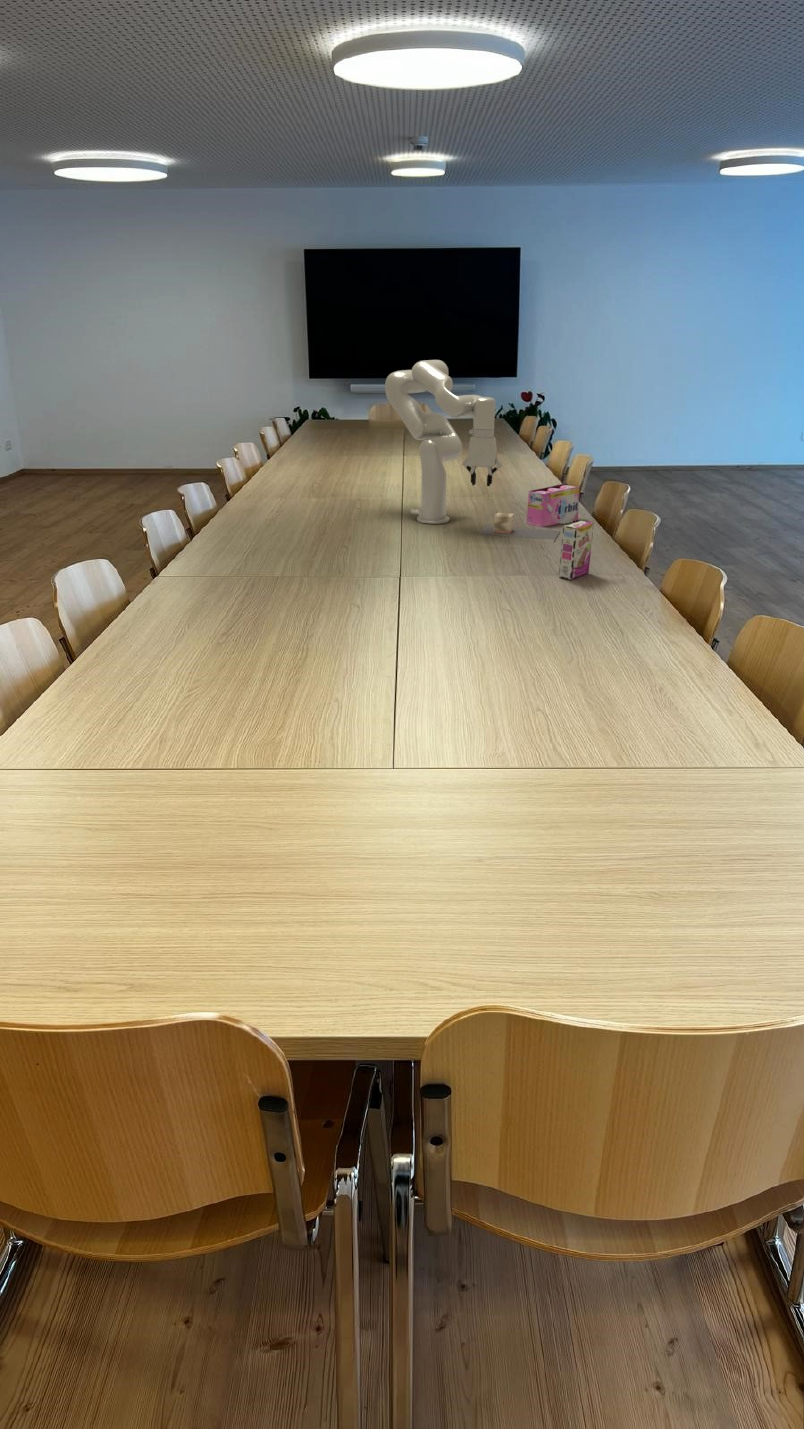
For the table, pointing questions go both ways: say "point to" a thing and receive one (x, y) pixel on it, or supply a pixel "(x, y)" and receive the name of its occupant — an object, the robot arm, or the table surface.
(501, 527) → the maple cube
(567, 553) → the candy bar box
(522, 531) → the rubber mat
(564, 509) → the gum box
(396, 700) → the table surface
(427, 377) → the robot arm
